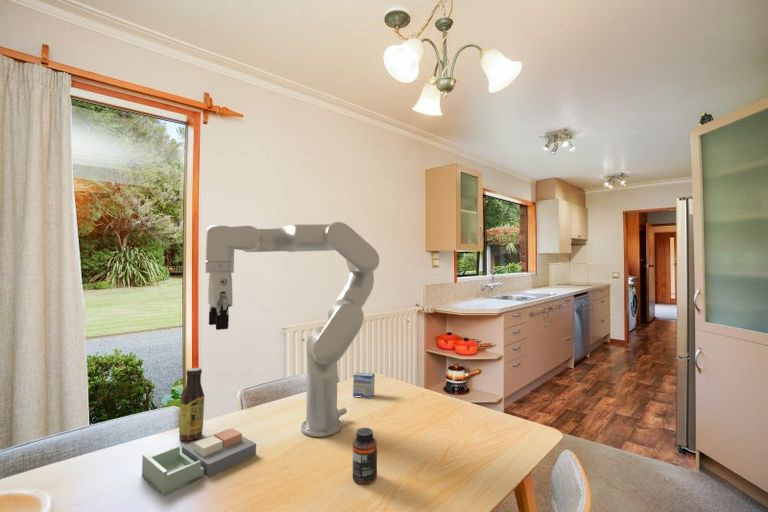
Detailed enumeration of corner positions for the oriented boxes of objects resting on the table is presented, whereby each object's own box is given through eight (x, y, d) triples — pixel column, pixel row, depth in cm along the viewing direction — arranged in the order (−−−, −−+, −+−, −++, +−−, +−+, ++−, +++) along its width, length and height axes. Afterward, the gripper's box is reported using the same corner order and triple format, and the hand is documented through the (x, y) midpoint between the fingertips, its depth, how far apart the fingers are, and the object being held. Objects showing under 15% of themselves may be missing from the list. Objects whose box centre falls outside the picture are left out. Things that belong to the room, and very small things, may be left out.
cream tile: (212, 442, 96) (213, 435, 96) (222, 448, 93) (222, 440, 93) (193, 450, 92) (194, 442, 92) (203, 456, 89) (203, 448, 89)
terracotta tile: (232, 435, 101) (232, 428, 101) (241, 440, 97) (242, 433, 98) (214, 442, 97) (214, 434, 97) (224, 447, 94) (224, 440, 94)
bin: (181, 460, 93) (181, 440, 93) (203, 476, 86) (204, 455, 86) (141, 475, 86) (142, 454, 86) (162, 495, 79) (163, 472, 79)
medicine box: (352, 397, 139) (352, 374, 140) (355, 393, 144) (355, 371, 144) (372, 398, 138) (372, 376, 138) (374, 394, 142) (374, 372, 143)
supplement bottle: (369, 468, 90) (369, 423, 90) (381, 480, 85) (382, 432, 85) (347, 476, 87) (348, 429, 87) (359, 489, 82) (360, 439, 82)
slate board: (228, 439, 104) (228, 428, 104) (255, 454, 96) (256, 443, 96) (181, 457, 94) (181, 446, 94) (207, 477, 86) (208, 464, 86)
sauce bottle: (192, 443, 102) (194, 373, 102) (173, 441, 103) (175, 371, 104) (208, 433, 108) (209, 367, 109) (190, 430, 109) (192, 365, 110)
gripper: (241, 268, 99) (239, 330, 98) (226, 267, 113) (225, 321, 112) (211, 268, 95) (210, 332, 94) (200, 267, 108) (198, 323, 108)
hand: (218, 326), depth 103 cm, fingers open, 9 cm apart
